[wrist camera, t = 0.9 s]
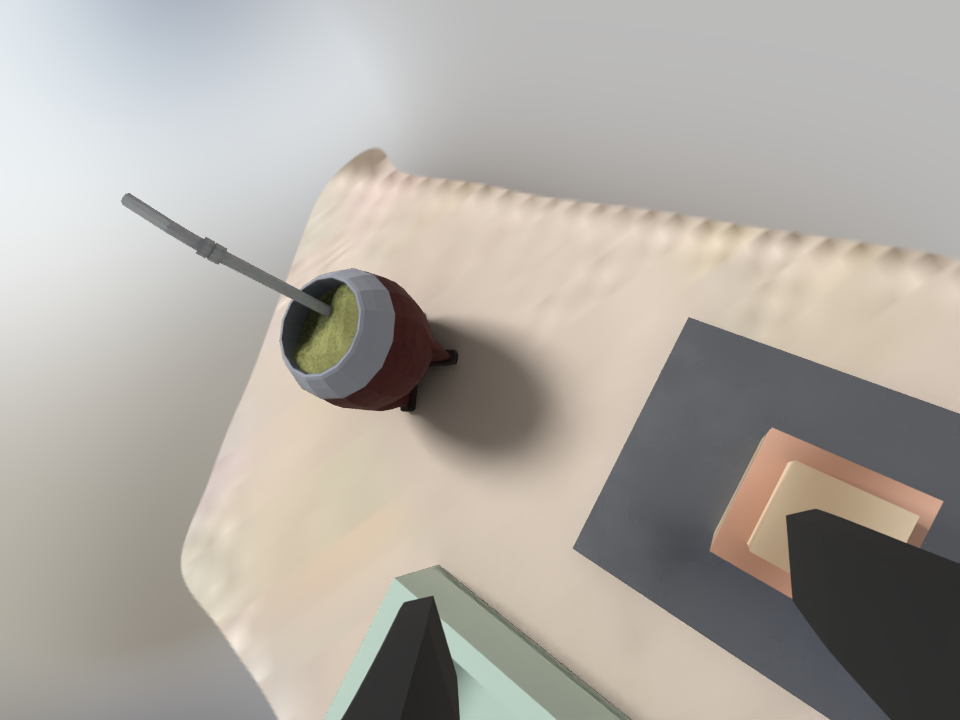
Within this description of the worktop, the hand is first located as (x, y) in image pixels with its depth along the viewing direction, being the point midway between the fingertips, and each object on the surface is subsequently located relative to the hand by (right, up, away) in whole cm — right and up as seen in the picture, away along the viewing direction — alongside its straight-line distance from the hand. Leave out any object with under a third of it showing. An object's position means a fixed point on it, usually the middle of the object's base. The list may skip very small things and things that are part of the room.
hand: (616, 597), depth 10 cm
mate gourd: (-7, +5, +21) cm, 22 cm away
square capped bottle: (+10, -1, +10) cm, 14 cm away
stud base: (+10, -2, +10) cm, 15 cm away
